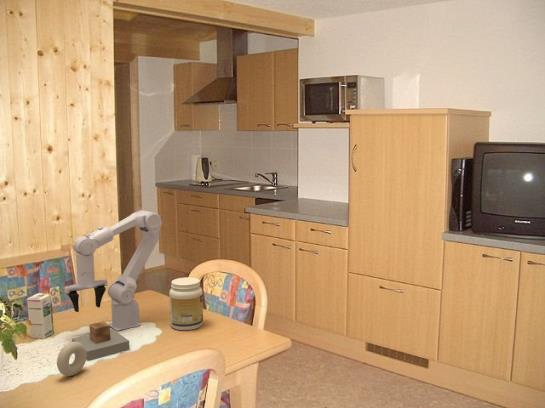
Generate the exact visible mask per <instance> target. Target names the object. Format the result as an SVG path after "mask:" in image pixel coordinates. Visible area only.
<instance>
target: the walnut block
mask: <svg viewBox="0 0 545 408" xmlns="http://www.w3.org/2000/svg"><path fill="white" fill-rule="evenodd" d="M88 327H89V334H90V339H91V340H92V341H93V342H94V343H100V342H104V341H108V340H110V329H111V327H110V325H109V323H107V322H106V321H99V322H94V323H90V324H89V326H88Z"/></svg>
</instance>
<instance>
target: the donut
mask: <svg viewBox="0 0 545 408" xmlns="http://www.w3.org/2000/svg"><path fill="white" fill-rule="evenodd" d="M73 354H74V358H73V361H72V362H71V363H70V358H71V357H72V355H73ZM86 355H87V353H86V349H85V347H84V346H83V345H82V344H81V343H79V342H72V341H71V342H69V343H66V344H65V345H63V347H62V348H61V349H60V351H59V352H58V355H57V359H56V367H57V370H58V371H59V373H60V374H62V375H63V376H65V377H72V376H75V375H77V374H78V373H80V372H81V370H82V369H83V367H84V366H85V364H86V362H87V360H86Z"/></svg>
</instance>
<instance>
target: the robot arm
mask: <svg viewBox="0 0 545 408" xmlns="http://www.w3.org/2000/svg"><path fill="white" fill-rule="evenodd" d="M162 225H163V222H162V219H161V216H160V214H158V213H157V212H153V211H148V210H145V209H139V210H138V211H135V212H133V213H132V214H130V215H128V216H127V217H126V218H124V219H122V220H120V221H118V222H117V223H115V224H113V225H112V226H109V227H108V226H99V227H97V229H96V230H95V231H92V232H91V233H87V234H85V236H80V237H77V238H76V239H75V241H74V242H73V244H72V249H73V251H74V252H75V254H76V258H75V259H76V277H77V279H76V280H77V283H74V284H70V285H67V286H64V293H65V294H67V295H68V297H69V300H70V301H71V303H72V307H73V310H74V312H75V313H79V311H80V310H79V309H80V307H79V306H80V305H79V298H80V294H79V293H78V292H80V291H85V290H89V289H93V290H94V296H95V297H94V298H95V301H94V302H95V307H96V308H99V309H100V308H101V303H102V299H103V297H104V294H105V292H106V290H107V295H108V296H109V298H110V299H111V300H110V301H111V302H110V303H111V304H110V305H111V306H110V307H111V319H112V320H111V322H110V323H108V324H109V325H110V328H111V329H114V330H115V331H116V332H118V331H122V330H126V329H131V328H134V327H138V326H139V327H140V326H141V321H140V305H139V303H138V301H137V300H136V299H134V298H135V294H136V293H135V292H136V290H137V288H138V286H137V280H138V278H139V276H140V275H141V273H142V271H143V269H144V267H145V265H146V264H147V261H148V260H149V258H150V256H151V254H152V252H153V251H154V249H155V247H156V245H157V243H158V242H159V239H160V232H161V231H160V230H161V226H162ZM135 227H136V228H138V229H139V230H140V232H141V235H142V238H141V240H140V243H139V244H138V246H137V247H136V249H135V251H134V253H133V255H132V257H131V258H130V260H129V262H128V264H127V266H126V267H125V269H124V271H123V273H122V274H121V275H119V276H118V277H116V279H115V281H114V282H113V283H111V284H110V285H109V287H108V289H107V286H108V280H106V279H98V280H95V260H94V259H95V258H94V253H95V252H96V251H97V249H99V248H101V247H103V246H105V245H106V244H108V243H110V242H112V241H113V239H114V237H115V236H116V235H119V234H121V233H123V232H126V231H127V230H129V229H132V228H135Z"/></svg>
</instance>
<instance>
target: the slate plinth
mask: <svg viewBox="0 0 545 408" xmlns="http://www.w3.org/2000/svg"><path fill="white" fill-rule="evenodd" d="M71 342H79V343H81V344H82V345H83V346H84V347H85V349H86V353H87V355H86V362H87V361H92V360H96V359H99V358H102V357H107V356H111V355H114V354H118V353H122V352H126V351H129V350H130V349H131V347H130V340H129V339H127V338H126V337H125V336H123V335H122V334H121V333H119V332H118V331H116V330H114V329H113V328H110V340H108V341H104V342H100V343H94V342H93V341H92V340H91V339H90V333H89V334H88V333H87V334H84V335H80V336H76V337H72V338H71Z"/></svg>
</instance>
